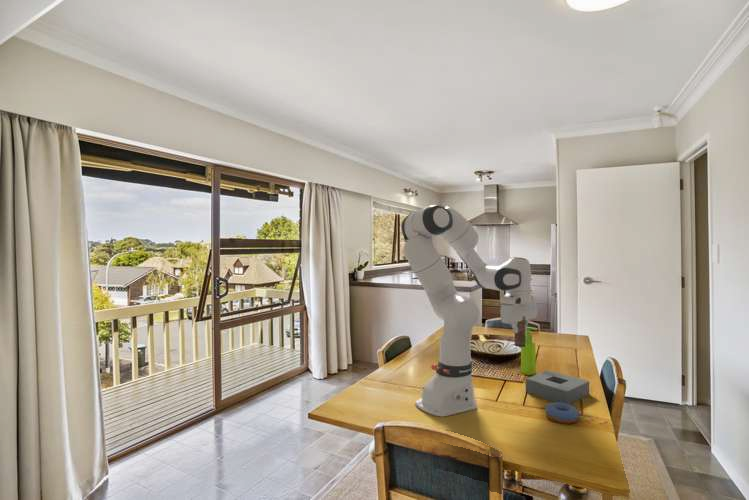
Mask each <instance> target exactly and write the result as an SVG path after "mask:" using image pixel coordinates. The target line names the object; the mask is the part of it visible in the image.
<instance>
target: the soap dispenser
mask: <svg viewBox="0 0 749 500" xmlns="http://www.w3.org/2000/svg"><path fill="white" fill-rule="evenodd" d="M531 330H533V331H538V330H539V328H537V327H533V326H532V327H531V326H527V330H526V331H525V347H520V372H521V373H522V374H523V375H527V376H534V375H537V374H536V365H537V363H536V360H537V358H536V356H537V355H536V342H533V335H532V334H531Z"/></svg>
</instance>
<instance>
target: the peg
mask: <svg viewBox="0 0 749 500" xmlns="http://www.w3.org/2000/svg"><path fill="white" fill-rule="evenodd" d="M517 328H519V333H514V346H515V347H517V348H521V347H525V334H526V331H525V316H524V317H523V320H522V321H520V322H518V324H517Z"/></svg>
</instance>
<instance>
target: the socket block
mask: <svg viewBox="0 0 749 500" xmlns="http://www.w3.org/2000/svg"><path fill="white" fill-rule="evenodd" d="M525 393H529V394H531V395H535V396H537V397H539V398H543V399H546V400H549V401H552V402H561V403H566V404H569V405H571V404H573V403H575V402H578V401H579V400H581V399H583V398H585V397H588V396H589V395H590V381H589V380H586V379H582V378H578V377H576V376H571V375H568V374H563V373H561V372H557V371H553V370H549V369H547V370H545V371H543V372H540V373H537V374H534V375H530V376H529V377H526V378H525Z"/></svg>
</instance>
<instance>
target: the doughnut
mask: <svg viewBox="0 0 749 500" xmlns="http://www.w3.org/2000/svg"><path fill="white" fill-rule="evenodd" d="M544 412H545V415H546V417H547V418H548V419H550V420H551V421H552V422H556V423H558V424H565V425H568V424H569V425H571V424H575V423H577V421H579V417H580V412H579V410H578V409H577V408H576V407H575V406H573V405H571V404H570V405H569V404H566V403H561V402H554V401H552V402H550V403H547V405H546V406H545V409H544Z"/></svg>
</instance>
